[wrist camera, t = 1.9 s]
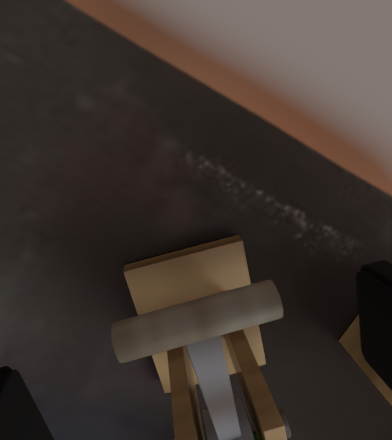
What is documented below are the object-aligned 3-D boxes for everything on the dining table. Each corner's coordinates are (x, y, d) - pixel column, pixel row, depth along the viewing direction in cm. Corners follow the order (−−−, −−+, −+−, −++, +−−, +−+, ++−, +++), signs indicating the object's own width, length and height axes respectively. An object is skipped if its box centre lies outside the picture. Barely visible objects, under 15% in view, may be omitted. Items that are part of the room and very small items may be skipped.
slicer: (124, 264, 25) (104, 409, 13) (238, 234, 26) (319, 347, 14) (164, 383, 29) (176, 575, 17) (261, 354, 30) (339, 522, 18)
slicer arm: (109, 298, 10) (110, 372, 9) (261, 257, 11) (293, 320, 9) (184, 435, 19) (192, 487, 17) (268, 410, 19) (285, 458, 17)
